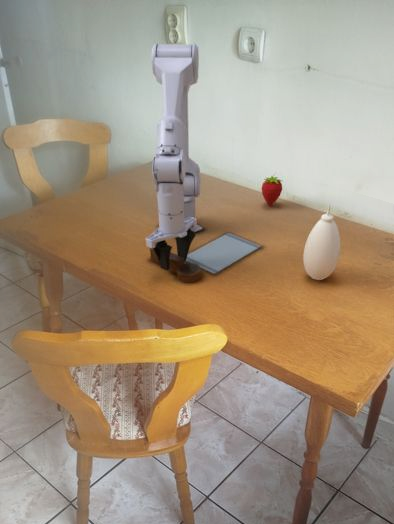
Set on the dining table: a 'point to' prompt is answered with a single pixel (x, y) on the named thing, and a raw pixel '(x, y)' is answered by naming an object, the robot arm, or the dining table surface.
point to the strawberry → (271, 189)
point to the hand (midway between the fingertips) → (173, 263)
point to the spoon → (180, 267)
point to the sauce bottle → (322, 248)
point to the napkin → (221, 253)
